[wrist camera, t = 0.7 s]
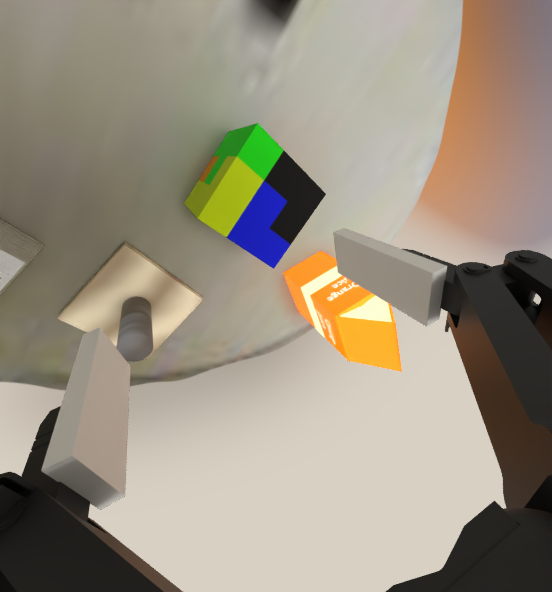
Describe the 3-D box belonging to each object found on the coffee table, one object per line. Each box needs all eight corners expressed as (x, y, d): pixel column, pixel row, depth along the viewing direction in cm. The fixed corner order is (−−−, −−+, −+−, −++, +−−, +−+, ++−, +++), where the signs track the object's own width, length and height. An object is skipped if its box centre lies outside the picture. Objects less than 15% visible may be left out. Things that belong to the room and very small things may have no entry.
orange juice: (298, 312, 48) (377, 390, 32) (282, 273, 43) (365, 342, 27) (333, 290, 50) (426, 355, 33) (321, 249, 45) (424, 303, 28)
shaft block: (59, 313, 33) (31, 366, 24) (125, 241, 32) (119, 271, 24) (146, 354, 40) (147, 406, 31) (201, 296, 39) (217, 333, 31)
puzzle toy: (246, 245, 39) (273, 268, 31) (184, 203, 33) (197, 218, 25) (286, 185, 38) (325, 194, 30) (228, 131, 32) (257, 123, 24)
